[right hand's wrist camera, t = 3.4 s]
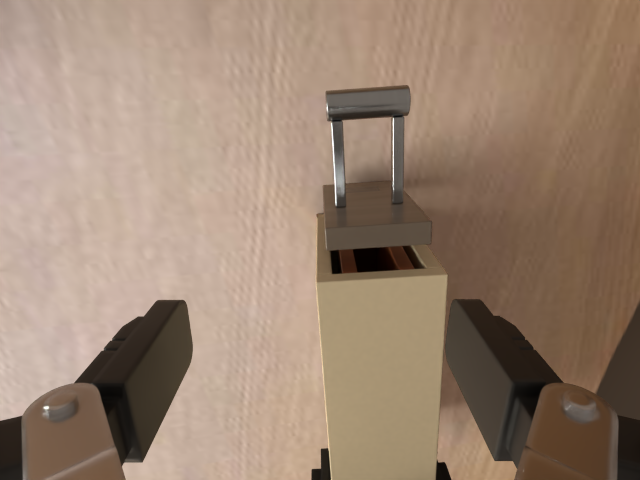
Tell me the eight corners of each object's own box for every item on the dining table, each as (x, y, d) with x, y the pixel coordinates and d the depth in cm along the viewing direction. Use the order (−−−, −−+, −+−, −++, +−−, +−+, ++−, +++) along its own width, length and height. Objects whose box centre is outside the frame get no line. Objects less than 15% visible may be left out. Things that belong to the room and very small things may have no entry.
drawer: (316, 92, 25) (315, 90, 16) (395, 86, 25) (438, 82, 16) (336, 396, 34) (342, 501, 25) (394, 393, 34) (420, 497, 25)
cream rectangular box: (316, 213, 29) (315, 282, 18) (401, 208, 28) (448, 274, 18) (331, 418, 36) (336, 551, 25) (398, 414, 36) (432, 546, 25)
